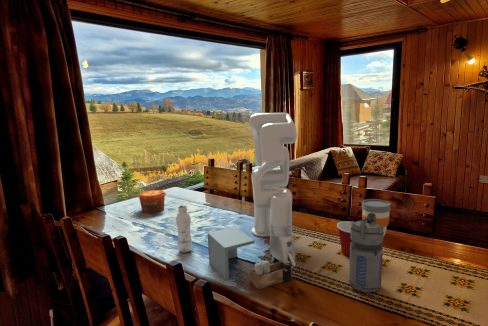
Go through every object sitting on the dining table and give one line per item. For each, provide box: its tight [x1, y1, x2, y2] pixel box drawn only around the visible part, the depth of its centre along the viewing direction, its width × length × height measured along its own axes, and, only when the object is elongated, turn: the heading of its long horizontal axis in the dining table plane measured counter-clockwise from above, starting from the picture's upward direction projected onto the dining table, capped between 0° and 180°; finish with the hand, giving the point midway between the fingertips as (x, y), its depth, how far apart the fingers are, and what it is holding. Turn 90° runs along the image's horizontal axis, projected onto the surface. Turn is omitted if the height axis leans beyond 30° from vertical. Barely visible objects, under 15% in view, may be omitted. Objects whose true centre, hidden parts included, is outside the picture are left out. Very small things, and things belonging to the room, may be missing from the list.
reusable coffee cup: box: [361, 198, 392, 237], centre depth 155 cm, size 12×13×15 cm
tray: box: [249, 260, 293, 291], centre depth 118 cm, size 14×6×7 cm, turn 118°
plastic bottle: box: [175, 205, 193, 254], centre depth 142 cm, size 6×7×20 cm
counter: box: [207, 226, 255, 282], centre depth 128 cm, size 12×16×13 cm
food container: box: [137, 189, 167, 214], centre depth 200 cm, size 16×16×11 cm
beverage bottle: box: [348, 213, 385, 293], centre depth 111 cm, size 10×13×25 cm
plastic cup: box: [336, 220, 355, 257], centre depth 136 cm, size 11×11×12 cm
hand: (281, 275), depth 120 cm, fingers closed on tray, 6 cm apart
